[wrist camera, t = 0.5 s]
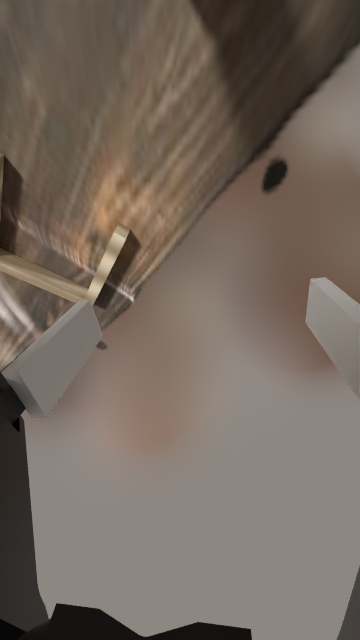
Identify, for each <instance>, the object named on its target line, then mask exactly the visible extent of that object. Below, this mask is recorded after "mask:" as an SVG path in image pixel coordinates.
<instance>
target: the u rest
mask: <svg viewBox="0 0 360 640" xmlns="http://www.w3.org/2000/svg"><path fill="white" fill-rule="evenodd" d="M3 167H4V155H3V154H1V153H0V220H1V202H2V185H3ZM129 232H130V229H129V228H127V227H126V226H124V225H122V224H120V223H119V224H118V226H117V228H116V230H115V232H114V234H113V236H112V238H111V241H110V243H109V245H108V247H107V249H106V252H105V254H104V256H103V258H102V261H101V263H100V265H99V267H98V270H97V272H96V274H95V276H94V279H93V281H92V283H91V285H90V287H89V289H88V288H86V287H84V286H81V285H79V284H77V283H75V282H73V281H71V280H68V279H66V278H64V277H62V276H60V275H57V274H55V273H53V272H51V271H49V270H47V269H44V268H42V267H40V266H38V265H36V264H34V263H31V262H29V261H27V260H25V259H23V258H21V257H18V256H16V255H14V254H12V253H10V252H7V251H5V250H3V249H1V248H0V270H1V271H3V272H5V273H8V274H10V275H12V276H15V277H17V278H19V279H22V280H24V281H26V282H28V283H31V284H33V285H35V286H38V287H40V288H42V289H45V290H47V291H49V292H52V293H54V294H56V295H59V296H61V297H63V298H66V299H68V300H70V301H73V302H75V303H77V302H78V301H85V300H90V302H91V305H92V306H93V304H94V302H95V300H96V298H97V296H98V294H99V292H100V290H101V288H102V286H103V284H104V282H105V280H106V278H107V276H108V274H109V272H110V270H111V268H112V266H113V264H114V262H115V260H116V258H117V256H118V254H119V252H120V250H121V248H122V246H123V244H124V242H125V240H126V238H127V236H128V234H129Z"/></svg>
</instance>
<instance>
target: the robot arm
mask: <svg viewBox="0 0 360 640" xmlns="http://www.w3.org/2000/svg"><path fill="white" fill-rule="evenodd" d="M305 323H306V324H307V326H308V327H309V329H310V330H311V331H312V333H313V334H314V336H315V337H316V339H317V340H318V342H319V343H320V344H321V346H322V347H323V348H324V350H325V352H326V353H327V354H328V356H329V357H330V359H331V360H332V362H333V363H334V365H335V366H336V367H337V369H338V370H339V372H340V373H341V375H342V376H343V378H344V379H345V381H346V382H347V383H348V385H349V386H350V388H351V389H352V391H353V392H354V394H355V395H356V396H357V398H358V399H359V401H360V305H359V304H358V303H357V302H356V301H354V300H353V299H352V298H351V297H349V296H348V295H347V294H345V293H344V292H343V291H342V290H341V289H339V288H338V287H337V286H336V285H334V284H333V283H332V282H331V281H329V280H328V279H327V278H314V279H310V287H309V296H308V303H307V311H306V319H305ZM102 337H103V335H102V332H101V329H100V327H99V324H98V321H97V318H96V316H95V313H94V310H93V307H92V305H91V302H90V300H85V301H78V302H77V303H76V304H75V305H74V306H73V307H72V308H71V309H70V310H69V311H67V312H66V313H65V314H64V315H63V316H62V317H61V318H60V319H59V320H58V321H57V322H55V323H54V324H53V325H52V326H51V327H50V328H49V329H48V330H47V331H46V332H44V333H43V334H42V335H41V336H40V337H39V338H38V339H37V340H36V341H35V342H33V343H32V344H31V345H30V346H29V347H27V348H26V349H25V350H24V351H23V352H22V353H20V355H18V356H17V357H16V358H15V359H14V361H12V362H11V363H9V364H8V365H7V366H6V367H5V368H4V369H3V370H2V371H1V372H0V640H252V637H251V629H246V628H239V627H231V626H224V625H216V624H208V623H201V622H197V623H193V624H190V625H187V626H184V627H180V628H177V629H173V630H170V631H166V632H163V633H159V634H156V635H153V636H149V637H143V636H140V635H138V634H137V633H135V632H134V631H132V630H131V629H129V628H128V627H126V626H124V625H123V624H122V623H120V622H118V621H117V620H115V619H114V618H112V617H111V616H109V615H108V614H106V613H105V612H103V611H102V610H100V609H96V608H88V607H81V606H73V605H66V604H58V603H57V604H56V606H55V609H54V612H53V615H52V617H51V619H48V615H47V611H46V607H45V605H44V603H43V601H42V598H41V596H40V593H39V590H38V584H37V573H36V561H35V549H34V536H33V525H32V512H31V500H30V488H29V476H28V464H27V452H26V440H25V427H24V420H23V418H22V417H21V414H22V412H23V411H24V410H25V409H26V410H27V411H28V413H29V414H30V416H31V417H32V418H46V417H47V416H48V415H49V413H50V412H51V410H52V409H53V407H54V406H55V405H56V403H57V402H58V400H59V399H60V397H61V396H62V394H63V393H64V391H65V390H66V389H67V387H68V386H69V384H70V383H71V381H72V380H73V379H74V377H75V375H76V374H77V373H78V371H79V370H80V368H81V367H82V366H83V364H84V363H85V361H86V359H87V358H88V357H89V355H90V354H91V352H92V351H93V349H94V348H95V347H96V345H97V344H98V342H99V341H100V339H101V338H102ZM337 640H360V567H359V571H358V574H357V577H356V581H355V584H354V587H353V590H352V594H351V597H350V601H349V604H348V608H347V611H346V614H345V618H344V621H343V624H342V627H341V630H340V633H339V635H338V638H337Z"/></svg>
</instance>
